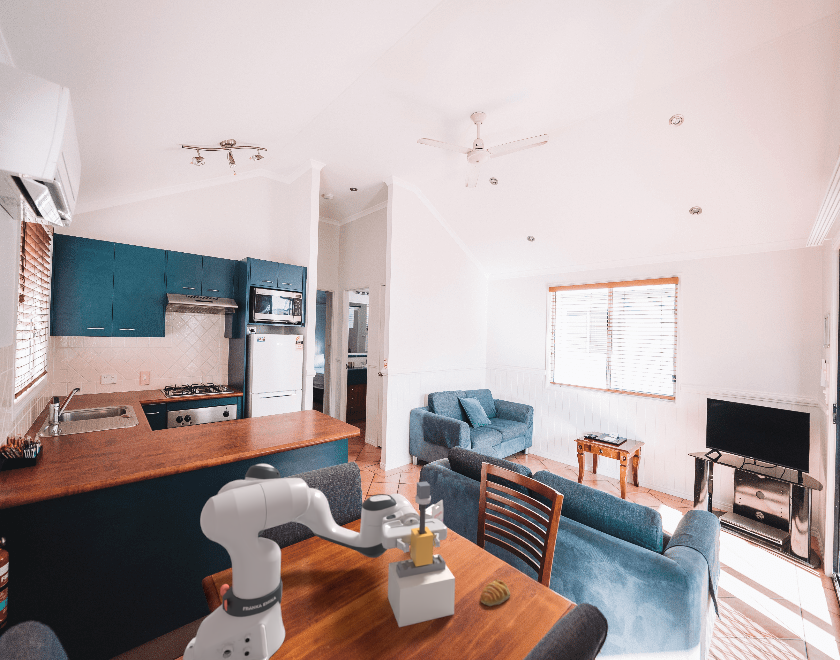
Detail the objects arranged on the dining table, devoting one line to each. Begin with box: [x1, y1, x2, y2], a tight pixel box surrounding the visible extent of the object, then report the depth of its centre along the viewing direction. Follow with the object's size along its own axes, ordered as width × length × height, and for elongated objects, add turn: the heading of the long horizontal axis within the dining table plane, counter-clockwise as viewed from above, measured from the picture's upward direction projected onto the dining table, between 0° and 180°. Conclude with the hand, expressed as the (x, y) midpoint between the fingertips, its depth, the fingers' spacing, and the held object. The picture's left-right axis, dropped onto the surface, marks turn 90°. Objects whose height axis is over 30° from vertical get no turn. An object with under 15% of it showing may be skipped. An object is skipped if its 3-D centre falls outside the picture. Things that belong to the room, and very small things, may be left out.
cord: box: [414, 481, 432, 534], centre depth 108 cm, size 4×4×25 cm
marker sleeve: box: [409, 527, 434, 566], centre depth 108 cm, size 5×5×8 cm
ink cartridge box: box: [425, 499, 444, 524], centre depth 143 cm, size 9×5×15 cm, turn 147°
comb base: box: [387, 553, 456, 628], centre depth 108 cm, size 16×12×13 cm
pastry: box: [480, 578, 511, 607], centre depth 112 cm, size 9×7×4 cm
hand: (422, 547), depth 108 cm, fingers open, 8 cm apart
